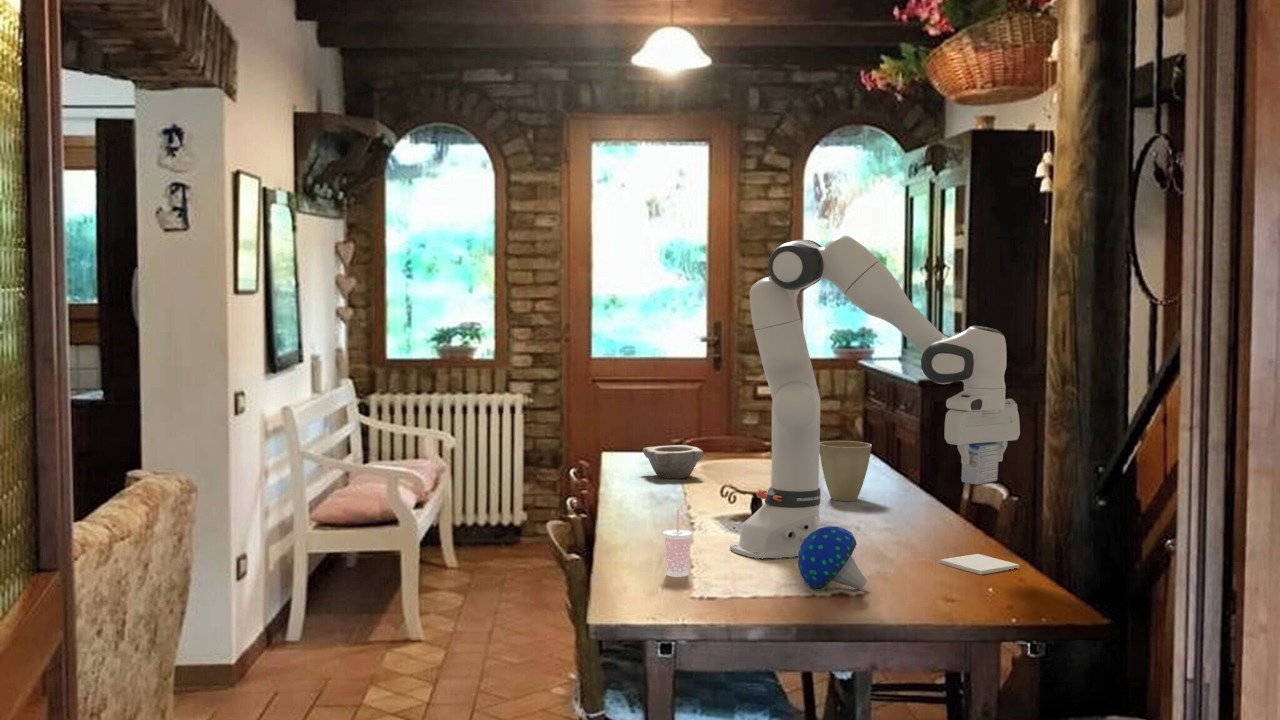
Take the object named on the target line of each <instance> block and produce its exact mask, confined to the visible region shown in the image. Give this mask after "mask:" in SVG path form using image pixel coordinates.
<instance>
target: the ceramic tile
mask: <svg viewBox="0 0 1280 720" xmlns="http://www.w3.org/2000/svg"><path fill="white" fill-rule="evenodd" d="M939 564H941V565H944V566H947V567H952V568H956V569H959V570H963V571H966V572H969V573H974V574H978V575H985V574H986V575H987V574H991V573H992V574H993V573H998V572H1003V571H1004V570H1005V571H1010V570H1009V569H1011V570H1015V569H1014V568H1017V569H1020V564H1018V563H1014V562H1012V561H1007V560H1003V559H999V558H996V557H995V558H994V557H991V556H989V555H985V554H980V553H975V554H966V555H961V556H955V557H948V558H942V559H939Z"/></svg>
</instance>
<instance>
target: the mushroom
mask: <svg viewBox="0 0 1280 720" xmlns="http://www.w3.org/2000/svg"><path fill="white" fill-rule="evenodd" d="M857 545H858V544H857V540H856V538H855V536H854V534H853V532H852V531H850V530H848V529H846V528H842V527H839V526H830V525H829V526H824V527H820V529H818V530H816V531H814V532H812V533H811V534H809V535H808V536H807V538H806V539H805V540H804V542H803V543H802V545H801V546H800V550H799V553H798V557H797V561H798V563H797V565H798V570H799V573H800V576H801V577H802V579H803V581H804V583H805V584H806V585H807V586H808V587H809V588H810V589H812V590H818V591H821V590H823V589H824V588H826V587H827V586H828V585H829V584H831V582H834V583H838V584H841V585H844V586H848V587H851V588H853V589H856V590H857V591H861V590H862V589H863V588H864V587H865V585H866V584H867V581H868V579H867V578H866V577H865V575H864V573H862V571H861V569H860V568H859V566H858V564H857V563H856V561H855V560H854V558H853V557H852V555H853V553H854V551H855V549H856V547H857Z"/></svg>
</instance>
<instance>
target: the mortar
mask: <svg viewBox="0 0 1280 720" xmlns="http://www.w3.org/2000/svg"><path fill="white" fill-rule="evenodd" d="M642 452H643V454H644V456H645V458H647V459H648V461H649V464H650V466H651V467H652V469H653V472H654V473H655V474H656V476H657V477H659V478H663V479H672V480H673V479H674V480H676V479H686V478H688V477H689V476H691V474H692V473H693V471H694V469H695V468H696V467H697V463H698V462H700V461H701V460H702V458H703V456H704V451H703V450H702V449H701V448H699V447H697V446H693V445H692V446H691V445H687V444H676V445H675V444H673V445H671V444H670V445H657V446H647V447H644V448H643V449H642ZM694 467H695V468H694Z"/></svg>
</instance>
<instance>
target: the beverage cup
mask: <svg viewBox="0 0 1280 720" xmlns="http://www.w3.org/2000/svg"><path fill="white" fill-rule="evenodd" d="M663 537H664V551H665V574H666V576H668V577H674V578H682V577H683V578H684V577H687V576H688V575H689V566H690V565H689V564H690V553H691V540H692V537H693V532H692V531H690V530H686V529H680V509H679V508H677V509H676V529H668V530H664V531H663Z"/></svg>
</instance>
